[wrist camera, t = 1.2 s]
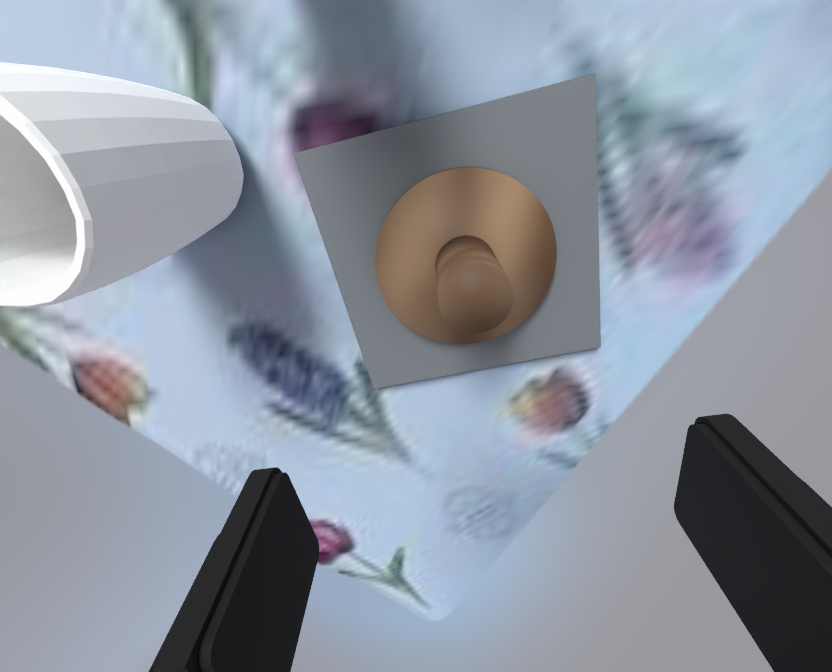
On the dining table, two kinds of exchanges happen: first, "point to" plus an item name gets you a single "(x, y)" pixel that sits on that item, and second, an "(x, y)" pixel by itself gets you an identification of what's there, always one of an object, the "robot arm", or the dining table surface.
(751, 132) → the dining table surface
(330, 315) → the dining table surface
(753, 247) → the dining table surface
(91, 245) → the cup
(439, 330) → the lid
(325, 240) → the mat
